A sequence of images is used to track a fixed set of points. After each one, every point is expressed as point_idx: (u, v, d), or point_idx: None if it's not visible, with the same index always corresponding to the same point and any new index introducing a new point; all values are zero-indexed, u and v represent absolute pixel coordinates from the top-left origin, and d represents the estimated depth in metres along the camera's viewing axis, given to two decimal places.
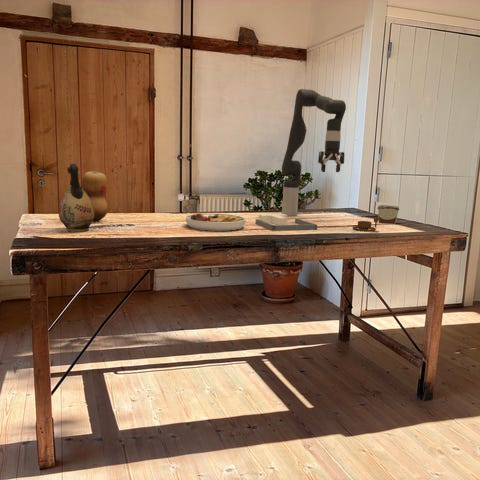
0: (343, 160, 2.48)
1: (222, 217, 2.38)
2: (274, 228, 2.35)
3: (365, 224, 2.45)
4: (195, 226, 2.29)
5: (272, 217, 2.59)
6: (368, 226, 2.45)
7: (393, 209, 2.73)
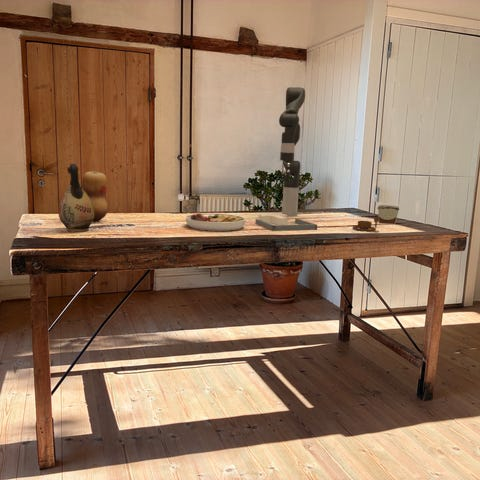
0: None
1: (222, 217, 2.38)
2: (274, 228, 2.35)
3: (365, 224, 2.45)
4: (195, 226, 2.29)
5: (272, 217, 2.59)
6: (368, 226, 2.46)
7: (393, 209, 2.73)
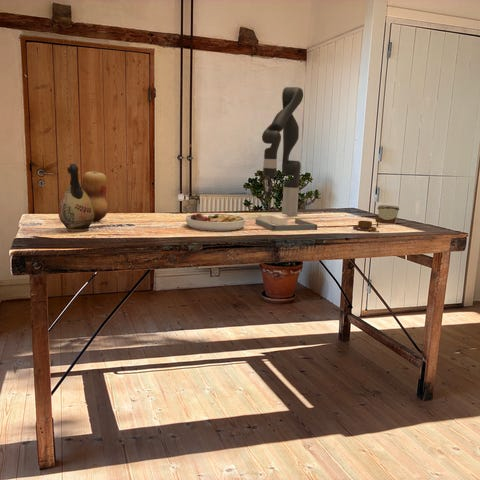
0: None
1: (222, 217, 2.38)
2: (274, 228, 2.35)
3: (365, 224, 2.46)
4: (195, 226, 2.29)
5: (272, 217, 2.59)
6: (368, 226, 2.46)
7: (393, 209, 2.73)
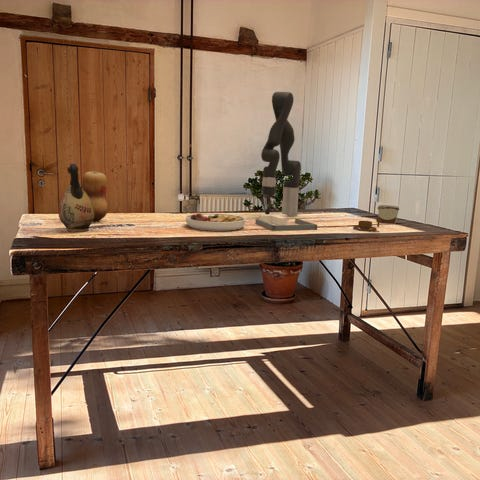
0: None
1: (222, 217, 2.38)
2: (274, 228, 2.35)
3: (365, 224, 2.46)
4: (195, 226, 2.29)
5: (272, 217, 2.59)
6: (368, 226, 2.46)
7: (393, 209, 2.73)
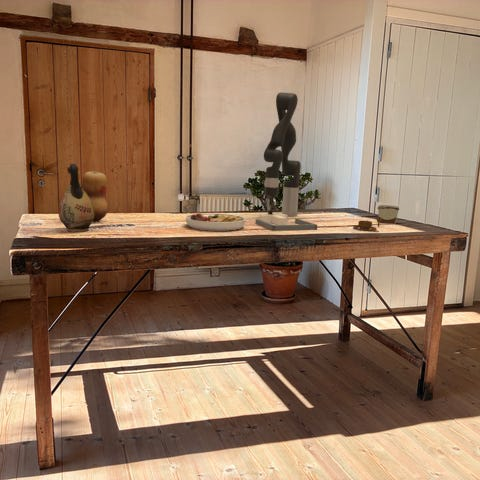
0: None
1: (222, 217, 2.38)
2: (274, 228, 2.35)
3: (365, 224, 2.46)
4: (195, 226, 2.29)
5: (272, 217, 2.59)
6: (368, 226, 2.47)
7: (393, 209, 2.73)
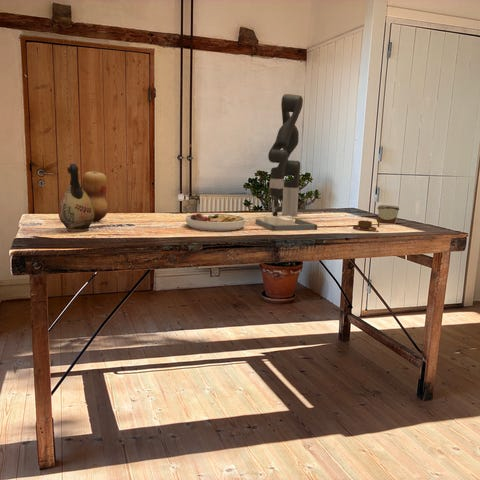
0: None
1: (222, 217, 2.38)
2: (274, 228, 2.35)
3: (365, 224, 2.47)
4: (195, 226, 2.29)
5: (278, 219, 2.53)
6: (368, 226, 2.47)
7: (393, 209, 2.73)
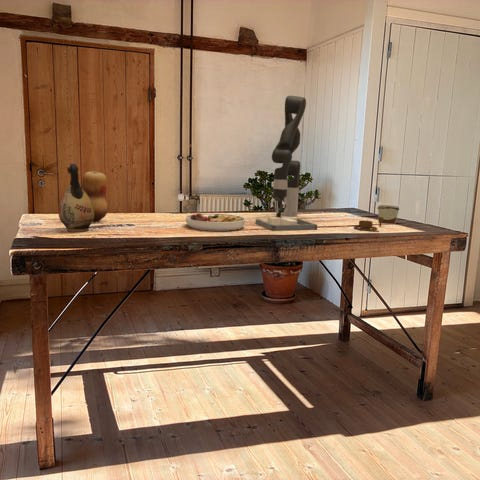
0: None
1: (222, 217, 2.38)
2: (274, 228, 2.35)
3: (365, 223, 2.47)
4: (195, 226, 2.29)
5: (282, 220, 2.49)
6: (368, 226, 2.47)
7: (393, 209, 2.73)
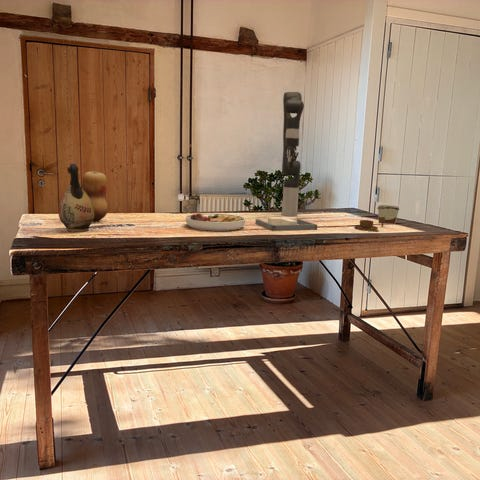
0: None
1: (222, 217, 2.38)
2: (274, 228, 2.35)
3: (366, 223, 2.48)
4: (195, 226, 2.29)
5: (282, 220, 2.49)
6: (369, 225, 2.48)
7: (393, 209, 2.73)
